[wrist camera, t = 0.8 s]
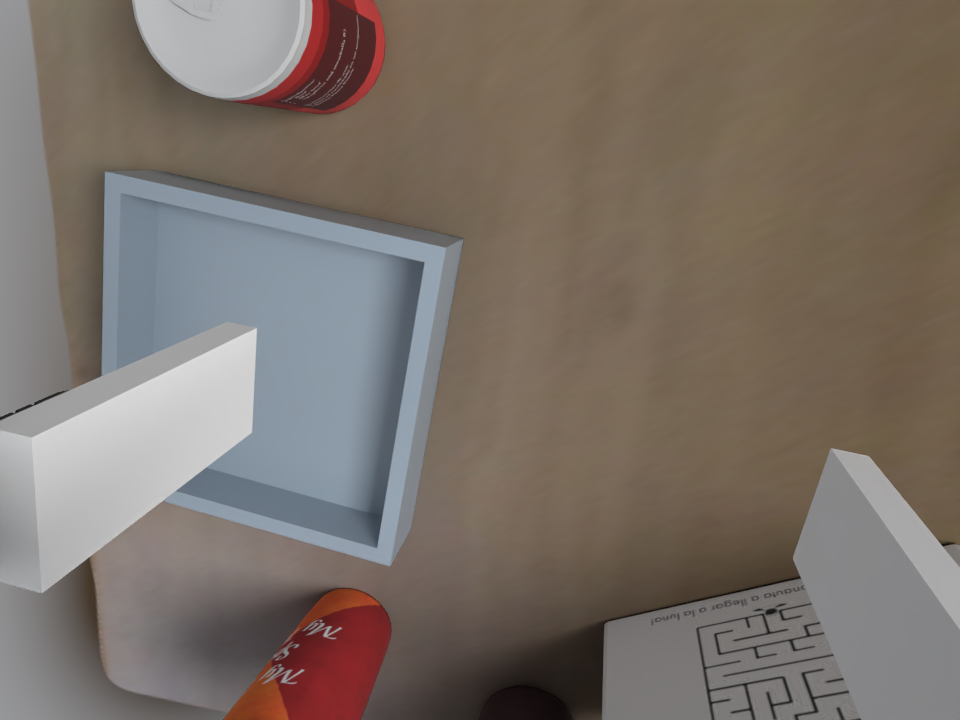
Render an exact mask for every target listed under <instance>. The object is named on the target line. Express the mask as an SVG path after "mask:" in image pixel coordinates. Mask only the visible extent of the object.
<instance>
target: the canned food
mask: <svg viewBox="0 0 960 720" xmlns="http://www.w3.org/2000/svg"><path fill="white" fill-rule="evenodd" d="M132 4H133V9H134V15H135V20H136V22H137V25H138V28H139V31H140V34H141V36H142V39H143V40H144V42H145V44H146V46H147V48H148V49H149V51H150V53H151V55H152V56H153V57H154V58H155V60H156V61H157V62H158V63H159V65H160V66H161V67H162V69H164V70H165V71H166V72H167V73H168V74H169V75H170V76H171V77H172V78H174V79H175V80H176V81H177V82H179V83H181V84H182V85H184V86H186V87H187V88H189V89H190V90H193V91H195V92H198V93H201V94H203V95H206V96H209V97H212V98H215V99H221V100H226V101H231V102H238V103H244V104H251V105H258V106H265V107H273V108H280V109H287V110H294V111H301V112H308V113H315V114H327V113H334V112H337V111H341V110H344V109H346V108H348V107H350V106H352V105H354V104H355V103H356V102H358V101H359V100H360V99H361V98H362V97H364V96H365V95H366V94H367V93H368V91H369V90H370V89H371V88H372V86H373V85H374V84H375V82H376V80H377V78H378V76H379V74H380V72H381V69H382V65H383V61H384V56H385V36H384V28H383V24H382V21H381V17H380V14H379V12H378V9H377V7H376V5H375V3H374V1H373V0H132Z"/></svg>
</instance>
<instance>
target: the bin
mask: <svg viewBox="0 0 960 720" xmlns="http://www.w3.org/2000/svg"><path fill="white" fill-rule="evenodd" d="M463 241H464V238H459V237H455V236H450V235H446V234H441V233H437V232H432V231H428V230H423V229H419V228H414V227H410V226H405V225H401V224H396V223H392V222H387V221H383V220H378V219H374V218H369V217H365V216H360V215H356V214H351V213H347V212H342V211H338V210H333V209H329V208H324V207H320V206H315V205H311V204H306V203H302V202H297V201H293V200H288V199H284V198H279V197H275V196H270V195H266V194H261V193H256V192H252V191H247V190H243V189H238V188H234V187H229V186H225V185H220V184H216V183H211V182H207V181H202V180H198V179H193V178H189V177H184V176H180V175H175V174H171V173H166V172H162V171H157V170H141V171H105V200H104V259H103V319H102V376H104V375H106V374H108V373H111V372H113V371H115V370H117V369H120V368H122V367H124V366H127V365H129V364H131V363H133V362H136V361H138V360H140V359H143V358H145V357H147V356H150V355H152V354H154V353H156V352H159V351H161V350H163V349H166V348H168V347H170V346H173V345H175V344H177V343H179V342H182V341H184V340H186V339H189V338H191V337H193V336H196V335H198V334H200V333H202V332H205V331H207V330H209V329H212V328H214V327H216V326H219V325H221V324H223V323H225V322H232V323H236V324H241V325H246V326H251V327H255V328H257V339H256V360H255V381H254V402H253V423H252V433H251V434H249V435H248V436H247V437H245V438H244V439H243V440H242V441H240V442H239V443H238V444H236V445H235V446H234V447H232V448H231V449H230V450H228V451H227V452H226V453H225V454H223V455H222V456H221V457H219V458H218V459H217V460H215V461H214V462H213V463H211V464H210V465H209V466H208V467H206V468H205V469H204V470H202V471H201V472H200V473H198V474H197V475H196V476H194V477H193V478H192V479H191V480H189V481H188V482H187V483H185V484H184V485H183V486H181V487H180V488H179V489H178V490H176V491H175V492H174V493H172V494H171V495H170V496H168V497H167V498H166V499H164V500H163V501H164V502H168V503H171V504H175V505H178V506H182V507H185V508H188V509H192V510H195V511H199V512H202V513H206V514H209V515H213V516H216V517H220V518H223V519H227V520H230V521H234V522H237V523H241V524H244V525H248V526H251V527H255V528H258V529H262V530H265V531H269V532H272V533H276V534H279V535H283V536H286V537H290V538H293V539H296V540H300V541H303V542H307V543H310V544H314V545H317V546H321V547H324V548H328V549H331V550H335V551H338V552H342V553H345V554H349V555H352V556H356V557H359V558H363V559H366V560H370V561H373V562H377V563H380V564H384V565H387V566H391V564H392V562H393V560H394V559H395V557H396V555H397V553H398V551H399V550H400V548H401V546H402V544H403V542H404V541H405V539H406V537H407V535H408V533H409V531H410V530H411V525H412V520H413V514H414V509H415V503H416V498H417V492H418V487H419V481H420V476H421V471H422V465H423V460H424V454H425V449H426V443H427V438H428V432H429V427H430V421H431V416H432V410H433V405H434V399H435V394H436V388H437V383H438V377H439V372H440V367H441V361H442V356H443V350H444V345H445V339H446V334H447V328H448V323H449V317H450V312H451V306H452V301H453V295H454V290H455V284H456V279H457V274H458V268H459V263H460V257H461V252H462V246H463Z"/></svg>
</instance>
